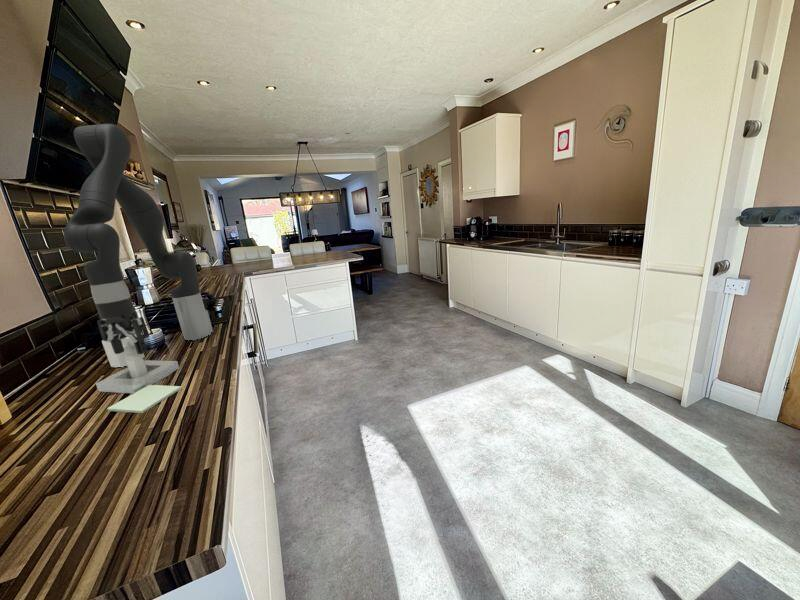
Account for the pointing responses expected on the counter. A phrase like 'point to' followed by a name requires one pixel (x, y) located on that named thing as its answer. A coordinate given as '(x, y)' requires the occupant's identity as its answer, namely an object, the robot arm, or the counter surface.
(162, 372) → the collar block
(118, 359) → the jar
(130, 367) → the eye dropper bottle
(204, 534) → the counter surface
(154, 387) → the sage mat
